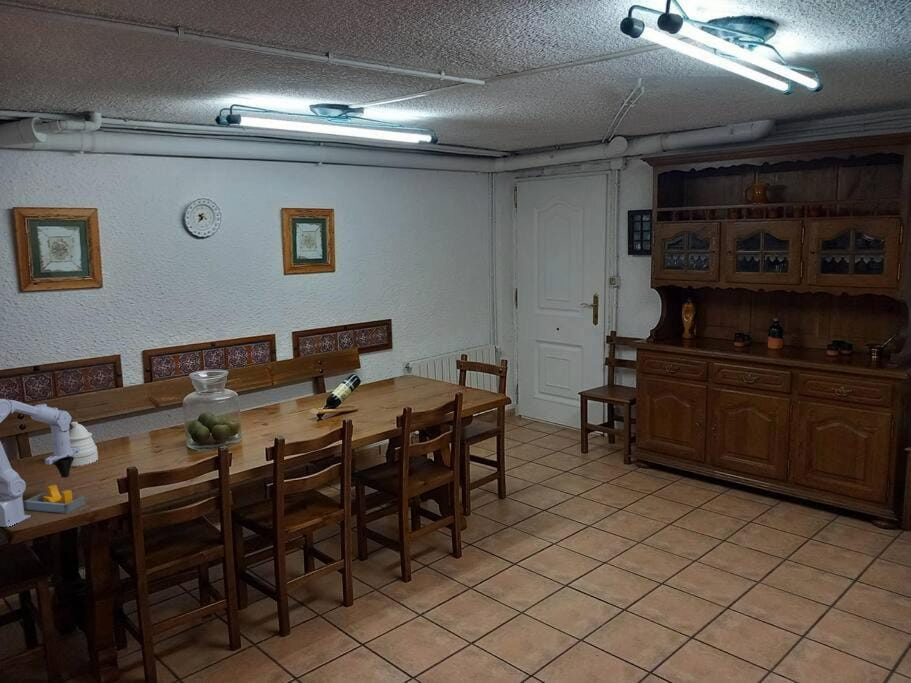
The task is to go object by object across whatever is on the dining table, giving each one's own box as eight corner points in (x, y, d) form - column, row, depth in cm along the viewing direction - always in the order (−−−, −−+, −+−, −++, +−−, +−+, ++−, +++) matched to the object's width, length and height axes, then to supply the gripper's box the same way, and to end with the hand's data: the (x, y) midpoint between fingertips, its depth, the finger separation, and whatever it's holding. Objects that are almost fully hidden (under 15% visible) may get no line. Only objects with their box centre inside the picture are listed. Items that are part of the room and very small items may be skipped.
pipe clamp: (44, 505, 258) (42, 488, 257) (56, 501, 261) (54, 484, 260) (61, 511, 251) (59, 494, 250) (73, 507, 255) (71, 490, 254)
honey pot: (84, 466, 299) (79, 426, 296) (58, 465, 301) (53, 424, 298) (104, 457, 311) (100, 417, 308) (79, 455, 314) (75, 416, 311)
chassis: (67, 513, 249) (66, 505, 249) (24, 509, 253) (23, 501, 253) (85, 503, 258) (84, 496, 257) (43, 500, 262) (42, 492, 261)
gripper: (55, 448, 252) (59, 484, 254) (85, 436, 266) (88, 471, 268) (38, 447, 253) (42, 483, 255) (69, 435, 267) (73, 469, 269)
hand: (65, 476), depth 262 cm, fingers closed
